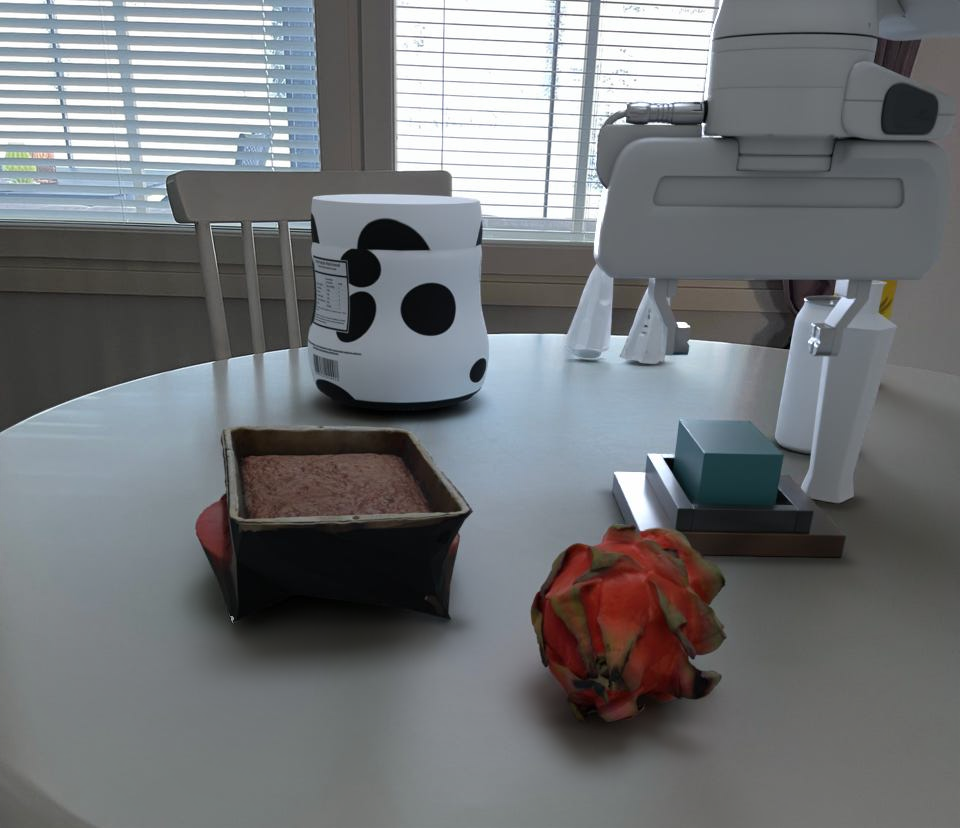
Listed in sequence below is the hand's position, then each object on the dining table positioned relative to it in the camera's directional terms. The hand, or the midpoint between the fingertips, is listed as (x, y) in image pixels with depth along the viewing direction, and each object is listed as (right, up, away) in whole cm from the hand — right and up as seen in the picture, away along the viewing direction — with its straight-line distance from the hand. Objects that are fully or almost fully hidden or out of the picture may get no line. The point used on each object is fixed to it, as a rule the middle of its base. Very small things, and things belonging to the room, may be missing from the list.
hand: (748, 354), depth 59 cm
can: (+12, -1, +22) cm, 25 cm away
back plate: (-1, -10, +5) cm, 11 cm away
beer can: (+24, +11, +45) cm, 52 cm away
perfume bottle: (+9, -7, +11) cm, 16 cm away
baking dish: (-25, -15, -5) cm, 30 cm away
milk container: (-25, +5, +33) cm, 42 cm away
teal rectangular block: (-1, -9, +5) cm, 10 cm away
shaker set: (-1, +15, +52) cm, 54 cm away
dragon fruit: (-10, -21, -15) cm, 28 cm away
